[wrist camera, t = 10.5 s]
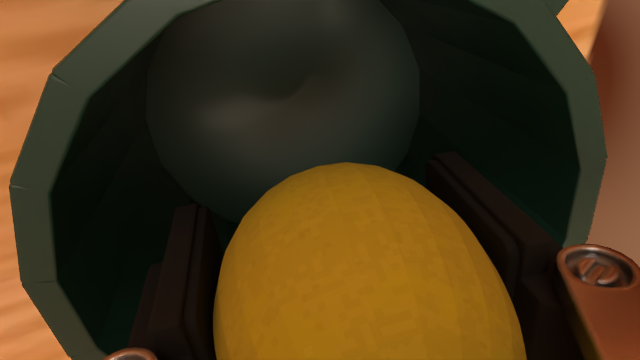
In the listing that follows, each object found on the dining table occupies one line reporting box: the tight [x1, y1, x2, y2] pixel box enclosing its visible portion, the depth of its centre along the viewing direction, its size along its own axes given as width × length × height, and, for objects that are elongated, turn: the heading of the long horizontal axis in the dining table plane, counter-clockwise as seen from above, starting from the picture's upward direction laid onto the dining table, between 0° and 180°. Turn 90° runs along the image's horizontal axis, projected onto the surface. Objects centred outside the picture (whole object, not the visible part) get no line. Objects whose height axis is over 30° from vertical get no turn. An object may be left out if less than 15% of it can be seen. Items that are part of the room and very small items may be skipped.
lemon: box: [213, 162, 527, 360], centre depth 8 cm, size 6×6×8 cm
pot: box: [9, 0, 607, 360], centre depth 14 cm, size 13×19×10 cm
